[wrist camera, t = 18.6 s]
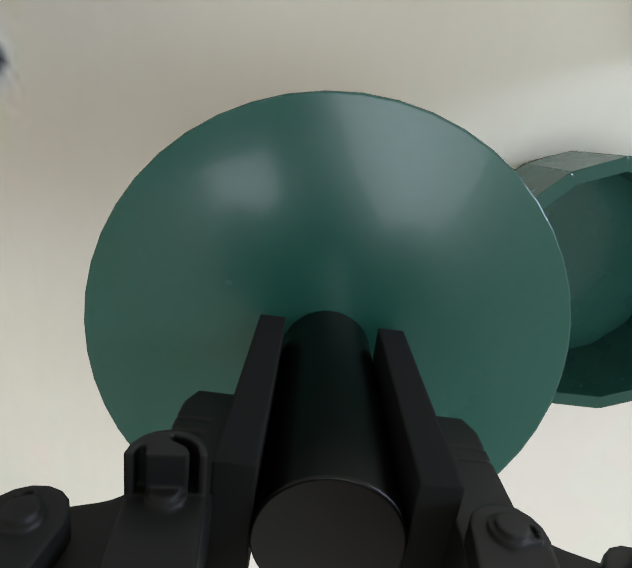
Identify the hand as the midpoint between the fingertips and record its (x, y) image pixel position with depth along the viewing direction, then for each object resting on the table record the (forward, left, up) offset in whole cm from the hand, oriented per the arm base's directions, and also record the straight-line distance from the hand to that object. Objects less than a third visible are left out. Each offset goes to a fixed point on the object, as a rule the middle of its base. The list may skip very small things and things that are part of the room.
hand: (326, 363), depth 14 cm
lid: (0, 0, -2) cm, 2 cm away
